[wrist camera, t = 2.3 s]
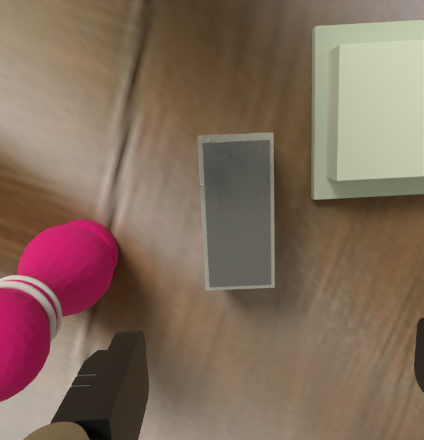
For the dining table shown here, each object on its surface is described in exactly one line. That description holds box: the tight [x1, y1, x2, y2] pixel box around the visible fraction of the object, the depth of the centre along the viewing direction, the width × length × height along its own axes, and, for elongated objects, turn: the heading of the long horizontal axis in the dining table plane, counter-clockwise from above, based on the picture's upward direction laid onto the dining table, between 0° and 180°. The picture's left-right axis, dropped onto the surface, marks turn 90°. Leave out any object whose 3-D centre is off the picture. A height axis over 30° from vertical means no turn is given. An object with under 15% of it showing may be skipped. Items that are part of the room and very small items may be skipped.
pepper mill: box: [0, 220, 119, 402], centre depth 26 cm, size 7×7×20 cm
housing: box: [197, 132, 275, 291], centre depth 32 cm, size 12×6×7 cm, turn 3°
